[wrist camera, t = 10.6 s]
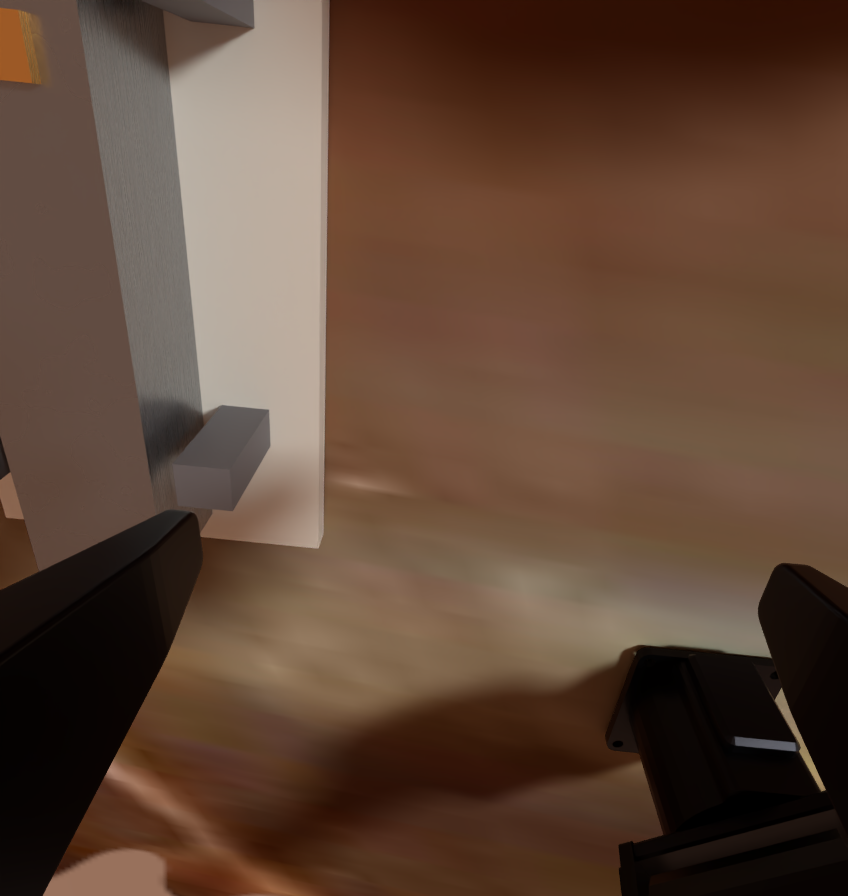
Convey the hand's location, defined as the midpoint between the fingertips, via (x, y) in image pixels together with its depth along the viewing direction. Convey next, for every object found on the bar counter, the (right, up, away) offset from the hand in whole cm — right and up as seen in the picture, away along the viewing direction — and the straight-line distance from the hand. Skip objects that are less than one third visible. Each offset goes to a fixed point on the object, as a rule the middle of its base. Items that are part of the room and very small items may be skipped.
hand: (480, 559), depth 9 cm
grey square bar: (-10, +8, +8) cm, 15 cm away
